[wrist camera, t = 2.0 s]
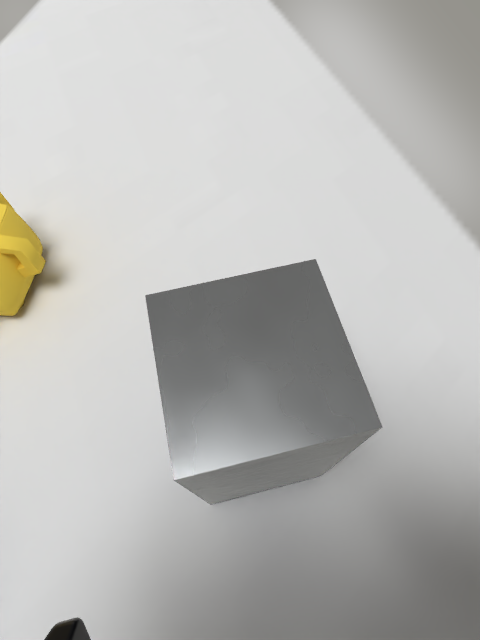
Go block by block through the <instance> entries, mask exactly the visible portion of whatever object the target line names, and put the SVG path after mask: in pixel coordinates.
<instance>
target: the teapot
mask: <svg viewBox="0 0 480 640" xmlns="http://www.w3.org/2000/svg"><path fill="white" fill-rule="evenodd" d="M42 251H43V247H42V244H41V242H40V240H39V238H38V237H37V236H36V234H35V233H34V232H33V231H32V229H31V228H30V227H29V226H28V225H27V224H26V222H25V221H24V220H23V219H22V218H21V217H20V216H19V215H18V214H17V213H16V212H15V211H14V209H13V207H12V206H11V205H10V204H9V202H8V201H7V200H6V199H5V197H4V196H3V195H2V194H1V192H0V315H3V316H14V315H16V313H17V312H18V310H19V309H20V308H21V307H22V306H23V305H24V302H25V300H24V298H25V296H26V294H27V292H28V290H29V288H30V285H31V283H32V281H33V278H34V276H35V275H36V274H40V273H41V272H42V269H43V267H44V265H45V262H46V261H45V259H44V258H43V257H42V256H41V255H42Z"/></svg>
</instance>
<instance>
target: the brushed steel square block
mask: <svg viewBox="0 0 480 640" xmlns="http://www.w3.org/2000/svg"><path fill="white" fill-rule="evenodd" d="M145 296H146V303H147V309H148V316H149V322H150V329H151V335H152V342H153V348H154V355H155V361H156V368H157V375H158V381H159V388H160V394H161V401H162V407H163V414H164V420H165V427H166V433H167V440H168V446H169V453H170V459H171V466H172V473H173V479H174V481H176V482H177V483H179V484H180V485H182V486H183V487H185V488H186V489H188V490H189V491H191V492H192V493H194V494H195V495H197V496H198V497H200V498H201V499H203V500H204V501H206V502H207V503H209V504H211V505H212V504H216V503H219V502H223V501H227V500H231V499H235V498H239V497H242V496H246V495H250V494H254V493H258V492H261V491H265V490H269V489H273V488H277V487H281V486H284V485H288V484H292V483H296V482H300V481H304V480H307V479H311V478H315V477H319V476H321V475H323V474H324V473H325V472H326V471H328V470H329V469H330V468H332V467H333V466H334V465H335V464H337V463H338V462H339V461H340V460H342V459H343V458H344V457H345V456H347V455H348V454H349V453H350V452H352V451H353V450H354V449H356V448H357V447H358V446H359V445H361V444H362V443H363V442H364V441H366V440H367V439H368V438H369V437H371V436H372V435H373V434H374V433H376V432H377V431H378V430H380V429H381V428H382V425H381V423H380V420H379V418H378V415H377V412H376V410H375V407H374V405H373V402H372V400H371V397H370V395H369V392H368V390H367V387H366V385H365V382H364V380H363V377H362V375H361V372H360V370H359V367H358V365H357V362H356V360H355V357H354V355H353V352H352V349H351V347H350V344H349V342H348V339H347V337H346V334H345V332H344V329H343V327H342V324H341V322H340V319H339V317H338V314H337V312H336V309H335V307H334V304H333V302H332V299H331V297H330V294H329V292H328V289H327V287H326V284H325V281H324V279H323V276H322V274H321V271H320V269H319V266H318V264H317V261H316V259H314V260H309V261H304V262H300V263H295V264H290V265H286V266H281V267H276V268H272V269H267V270H262V271H258V272H253V273H248V274H244V275H239V276H234V277H230V278H225V279H220V280H215V281H211V282H206V283H201V284H197V285H192V286H187V287H183V288H178V289H173V290H169V291H164V292H159V293H155V294H150V295H145Z"/></svg>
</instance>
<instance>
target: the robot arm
mask: <svg viewBox="0 0 480 640" xmlns="http://www.w3.org/2000/svg"><path fill="white" fill-rule="evenodd" d="M44 640H91V639H90V637H89V634H88V632H87V630H86V627H85V625H84V623H83V621H82V620H81V619H80V618H73V619H69V620H66V621H62V622H59V623H57V624H56V625H55V626H54V627H53V628H52V629H51V631H50V632H49V634H48V635H47V637H46V638H45V639H44Z"/></svg>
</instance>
